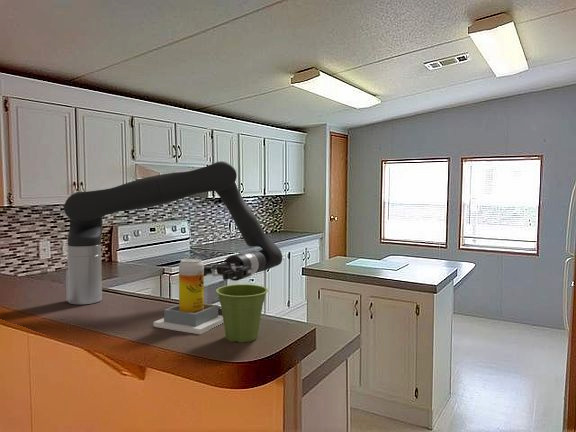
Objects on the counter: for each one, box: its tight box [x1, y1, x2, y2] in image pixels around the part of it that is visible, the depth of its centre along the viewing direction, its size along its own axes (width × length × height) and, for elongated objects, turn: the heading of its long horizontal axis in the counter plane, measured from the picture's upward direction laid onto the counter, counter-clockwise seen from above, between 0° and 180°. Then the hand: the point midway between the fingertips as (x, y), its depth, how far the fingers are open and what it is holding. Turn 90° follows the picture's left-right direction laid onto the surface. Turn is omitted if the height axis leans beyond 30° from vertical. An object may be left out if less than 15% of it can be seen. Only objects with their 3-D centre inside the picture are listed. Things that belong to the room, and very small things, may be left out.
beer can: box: [178, 258, 205, 313], centre depth 111 cm, size 6×6×15 cm
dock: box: [153, 302, 224, 335], centre depth 111 cm, size 14×12×4 cm
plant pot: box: [215, 283, 269, 343], centre depth 101 cm, size 12×12×11 cm
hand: (210, 274), depth 118 cm, fingers open, 8 cm apart
